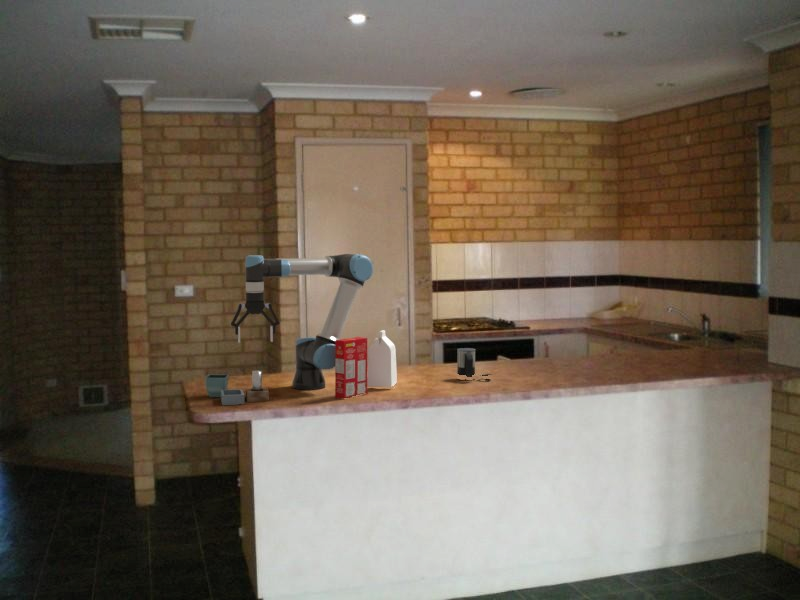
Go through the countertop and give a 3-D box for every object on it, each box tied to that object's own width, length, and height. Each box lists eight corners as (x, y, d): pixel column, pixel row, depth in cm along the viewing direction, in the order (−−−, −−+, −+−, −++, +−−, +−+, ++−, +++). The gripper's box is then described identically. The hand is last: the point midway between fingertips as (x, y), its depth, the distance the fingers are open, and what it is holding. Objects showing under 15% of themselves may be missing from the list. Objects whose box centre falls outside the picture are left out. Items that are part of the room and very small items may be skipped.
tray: (242, 398, 363) (242, 389, 362) (244, 404, 350) (244, 394, 350) (220, 399, 360) (220, 389, 360) (222, 405, 348) (222, 395, 348)
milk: (391, 389, 384) (392, 332, 382) (367, 388, 386) (367, 332, 384) (397, 385, 396) (397, 329, 393) (373, 384, 398) (373, 329, 396)
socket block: (266, 396, 366) (266, 387, 366) (268, 400, 358) (268, 391, 357) (245, 397, 364) (245, 388, 364) (247, 401, 355) (247, 392, 355)
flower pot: (229, 394, 371) (228, 374, 370) (225, 398, 362) (225, 377, 361) (208, 394, 370) (208, 374, 370) (204, 398, 362) (204, 377, 361)
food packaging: (358, 392, 376) (358, 336, 374) (367, 394, 373) (367, 338, 371) (335, 397, 365) (335, 340, 363) (344, 399, 362) (344, 341, 360)
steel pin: (261, 398, 363) (261, 370, 362) (262, 399, 359) (262, 372, 358) (252, 398, 362) (251, 370, 361) (252, 400, 358) (252, 372, 357)
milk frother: (453, 378, 415) (453, 348, 413) (481, 376, 421) (481, 346, 420) (467, 383, 402) (467, 352, 401) (495, 380, 408) (496, 350, 407)
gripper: (283, 290, 364) (284, 339, 366) (224, 291, 358) (225, 341, 360) (285, 292, 356) (286, 342, 358) (224, 293, 351) (225, 344, 352)
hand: (255, 342), depth 359 cm, fingers open, 13 cm apart
